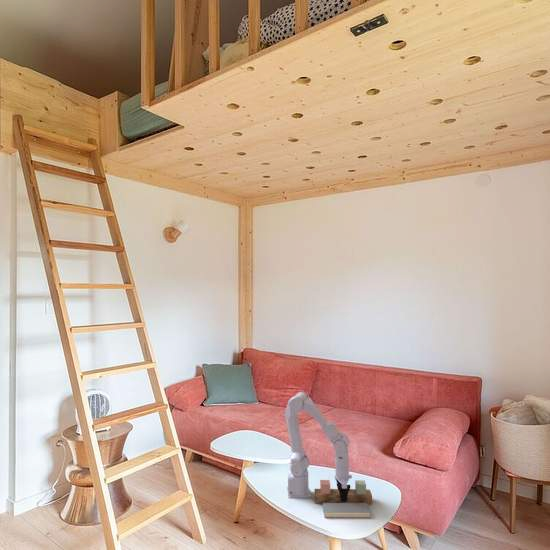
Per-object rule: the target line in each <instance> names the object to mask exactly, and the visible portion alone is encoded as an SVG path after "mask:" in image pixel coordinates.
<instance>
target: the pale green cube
mask: <svg viewBox="0 0 550 550" xmlns="http://www.w3.org/2000/svg"><path fill="white" fill-rule="evenodd" d="M354 482H355V484H354V485H355V488H354V489H355V490H356V493H357V494H366V489H367V483H366V481H365V480H362V479H361V480H359V479H358V480H355V481H354Z"/></svg>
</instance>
